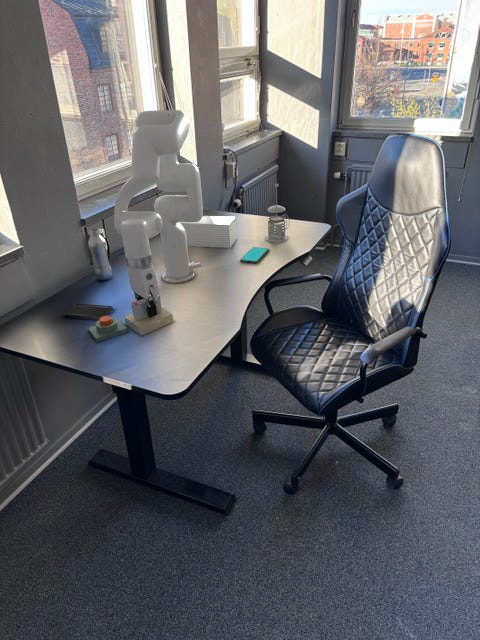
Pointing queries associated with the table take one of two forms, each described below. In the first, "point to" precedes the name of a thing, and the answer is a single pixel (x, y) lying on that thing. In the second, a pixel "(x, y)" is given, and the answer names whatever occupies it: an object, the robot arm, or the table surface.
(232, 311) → the table surface
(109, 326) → the button box
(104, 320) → the button
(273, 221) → the french press
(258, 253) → the smartphone
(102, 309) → the phone
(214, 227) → the white storage box
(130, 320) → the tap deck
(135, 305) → the grey block
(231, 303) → the table surface
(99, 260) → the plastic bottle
